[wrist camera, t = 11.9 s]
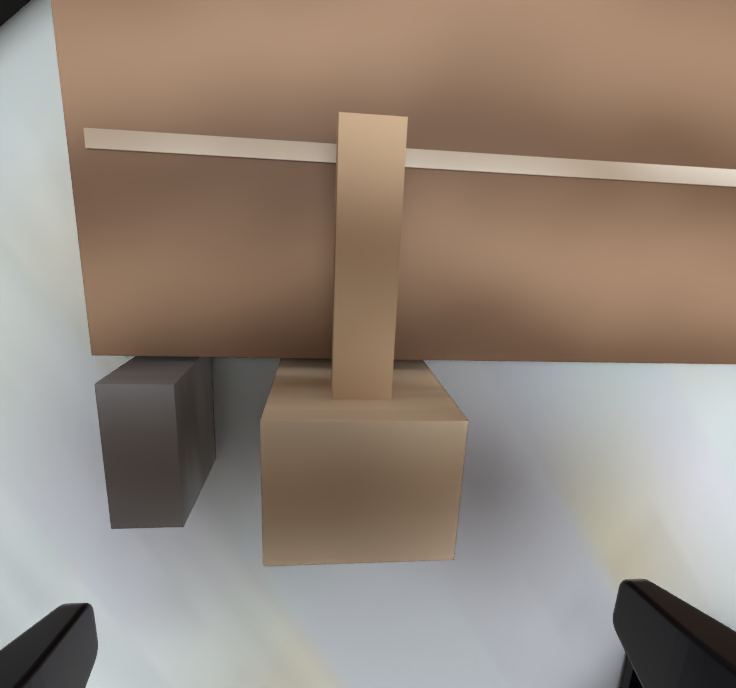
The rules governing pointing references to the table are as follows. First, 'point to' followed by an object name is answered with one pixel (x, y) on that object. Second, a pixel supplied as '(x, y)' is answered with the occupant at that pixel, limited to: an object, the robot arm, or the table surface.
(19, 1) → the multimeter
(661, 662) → the robot arm
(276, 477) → the marking gauge
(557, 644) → the table surface
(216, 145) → the walnut board
